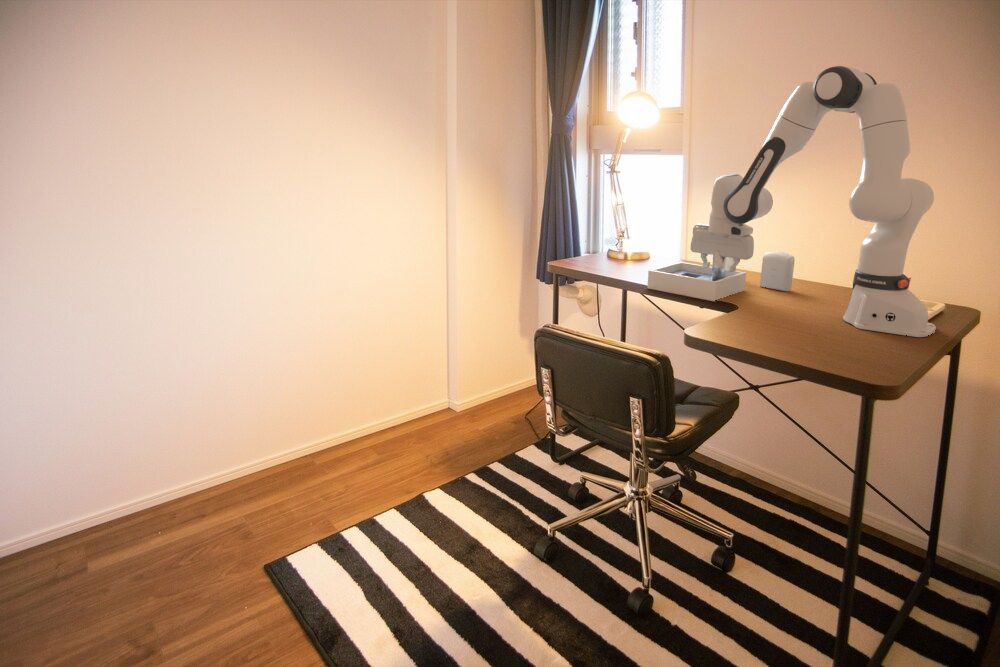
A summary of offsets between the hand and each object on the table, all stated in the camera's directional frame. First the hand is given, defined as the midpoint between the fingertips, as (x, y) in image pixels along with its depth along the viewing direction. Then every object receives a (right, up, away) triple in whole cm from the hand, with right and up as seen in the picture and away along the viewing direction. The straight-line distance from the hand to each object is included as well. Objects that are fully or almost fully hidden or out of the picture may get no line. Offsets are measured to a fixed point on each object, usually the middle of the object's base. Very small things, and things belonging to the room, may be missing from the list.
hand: (719, 269), depth 230 cm
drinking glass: (+8, -2, +20) cm, 22 cm away
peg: (0, -3, +1) cm, 4 cm away
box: (-6, -6, +4) cm, 10 cm away
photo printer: (+20, -6, +6) cm, 22 cm away
